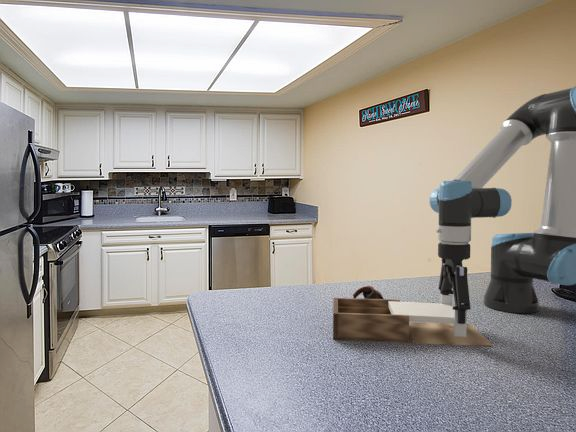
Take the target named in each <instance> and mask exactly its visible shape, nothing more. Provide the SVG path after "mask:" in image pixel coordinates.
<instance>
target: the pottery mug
mask: <svg viewBox="0 0 576 432" xmlns="http://www.w3.org/2000/svg"><path fill="white" fill-rule="evenodd" d="M361 294H362V296H363V298H362V299H384V297H383V295H382V293H381V292H380V291H379V290H377V289H375V287H374V286H371V285H366V286H362V287H360V288H358V289H357V290H356V291H355V292H354V293H353V294H352V298H357V297H358V296H360V295H361Z"/></svg>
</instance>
